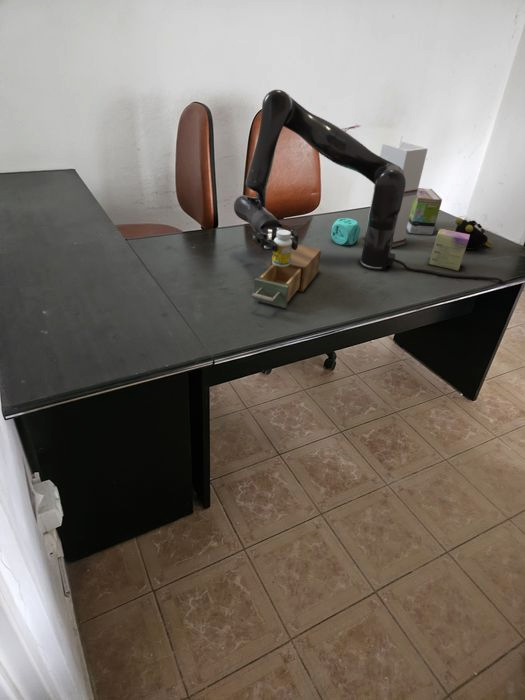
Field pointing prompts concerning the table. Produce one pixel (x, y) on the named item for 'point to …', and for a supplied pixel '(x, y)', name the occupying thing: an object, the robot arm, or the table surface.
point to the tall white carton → (412, 166)
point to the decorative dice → (345, 231)
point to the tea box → (424, 212)
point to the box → (449, 249)
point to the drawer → (277, 285)
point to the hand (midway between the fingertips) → (285, 247)
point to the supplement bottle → (282, 248)
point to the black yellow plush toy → (472, 233)
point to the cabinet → (305, 263)
